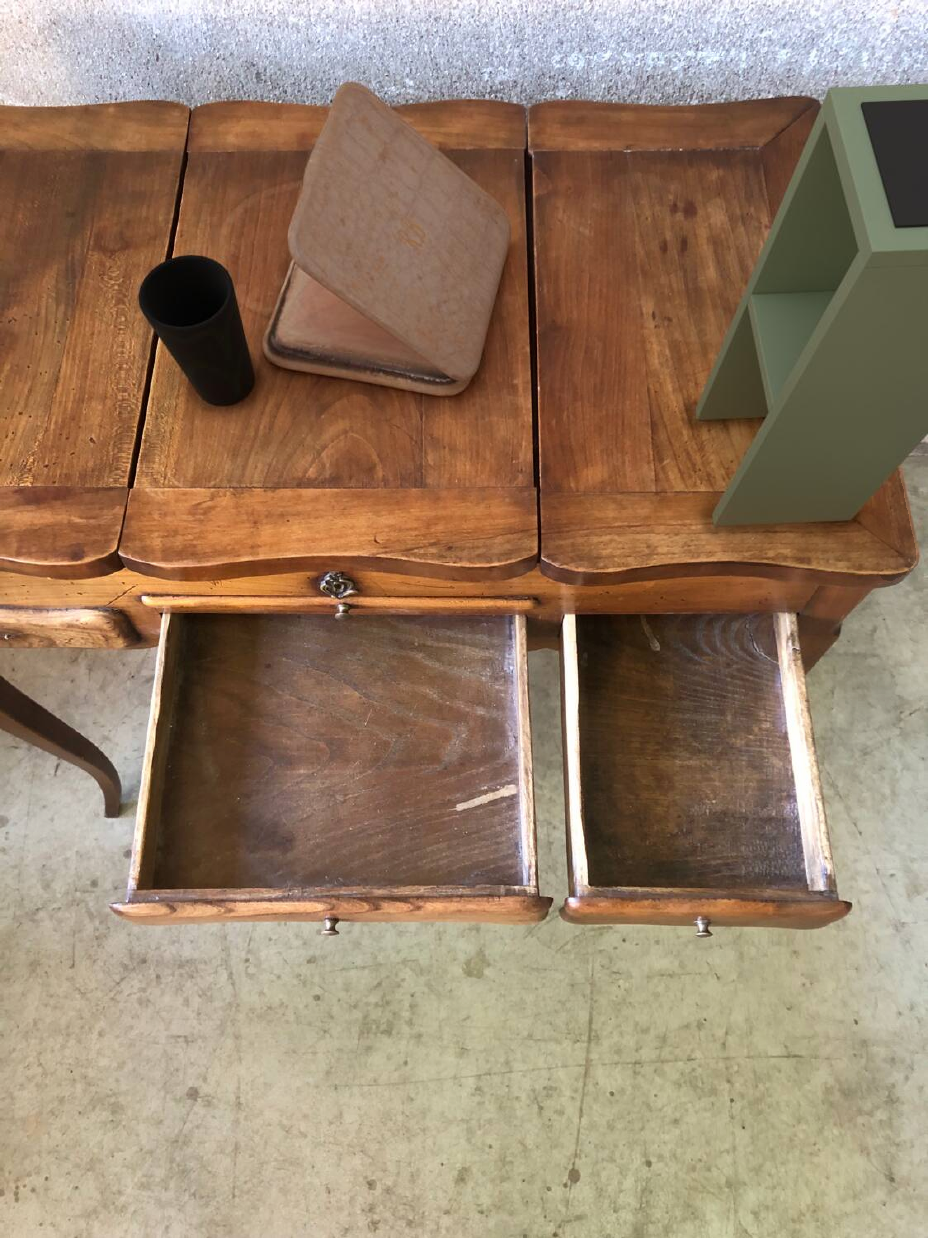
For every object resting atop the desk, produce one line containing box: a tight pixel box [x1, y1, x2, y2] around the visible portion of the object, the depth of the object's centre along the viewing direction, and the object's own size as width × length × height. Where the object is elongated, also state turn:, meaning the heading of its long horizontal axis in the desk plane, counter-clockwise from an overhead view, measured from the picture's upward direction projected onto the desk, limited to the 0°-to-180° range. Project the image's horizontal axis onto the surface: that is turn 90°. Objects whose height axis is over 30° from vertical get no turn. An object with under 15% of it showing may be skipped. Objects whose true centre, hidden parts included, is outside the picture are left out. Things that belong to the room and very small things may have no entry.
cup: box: [137, 254, 256, 407], centre depth 75 cm, size 8×8×12 cm
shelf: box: [694, 83, 928, 527], centre depth 62 cm, size 12×12×32 cm
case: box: [261, 81, 512, 397], centre depth 77 cm, size 20×21×16 cm
